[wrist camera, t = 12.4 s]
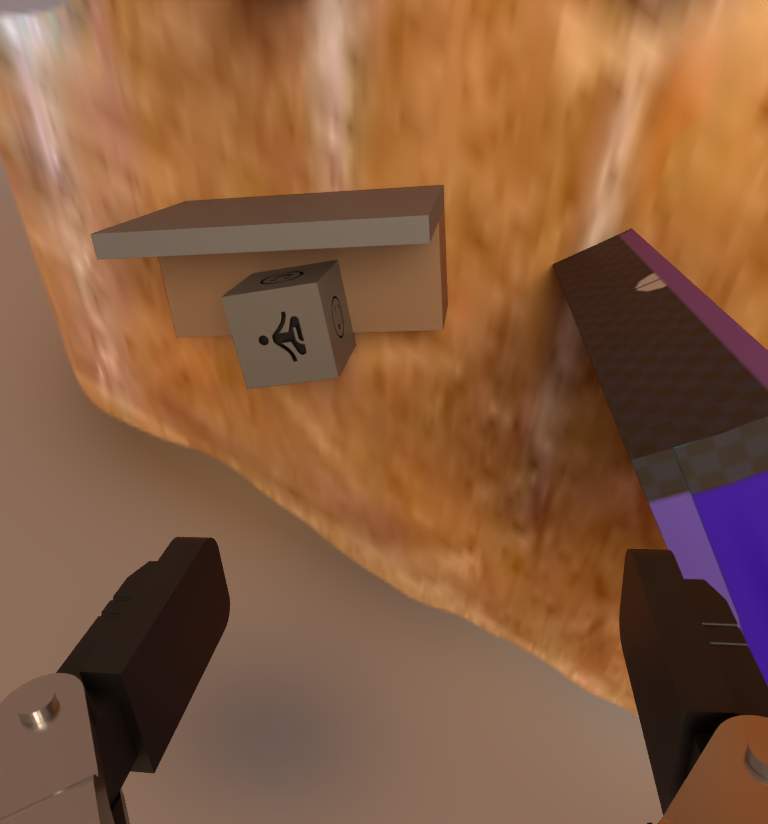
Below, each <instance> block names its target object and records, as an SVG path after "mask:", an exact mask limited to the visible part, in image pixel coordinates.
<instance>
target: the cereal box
mask: <svg viewBox="0 0 768 824" xmlns="http://www.w3.org/2000/svg"><path fill="white" fill-rule="evenodd" d="M553 266H554V269H555V271H556V274H557V276H558V279H559V281H560V284H561V286H562V289H563V291H564V294H565V296H566V299H567V301H568V304H569V306H570V309H571V311H572V314H573V316H574V319H575V321H576V324H577V326H578V329H579V332H580V334H581V337H582V339H583V342H584V344H585V347H586V349H587V352H588V354H589V357H590V359H591V362H592V364H593V367H594V369H595V372H596V374H597V377H598V379H599V382H600V384H601V387H602V389H603V392H604V394H605V397H606V399H607V402H608V404H609V407H610V409H611V412H612V414H613V417H614V419H615V422H616V424H617V427H618V429H619V432H620V434H621V437H622V439H623V442H624V444H625V447H626V449H627V452H628V454H629V457H630V459H631V462H632V464H633V467H634V469H635V471H636V474H637V476H638V479H639V481H640V483H641V486H642V488H643V491H644V493H645V495H646V498H647V500H648V503H649V505H650V507H651V510H652V512H653V515H654V517H655V519H656V522H657V524H658V527H659V529H660V531H661V534H662V536H663V539H664V541H665V543H666V546H667V548H668V550H671V551H672V552H673V554H674V556H675V559H676V561H677V563H678V566H679V568H680V571H681V573H682V576H683V578H684V579H704V580H705V581H707V582H708V583H709V584H710V585H711V586H712V587H713V588H714V589H715V590H716V591H717V592H718V593H719V594H721V595H722V596H723V597H724V598H725V599H726V600H727V602H728V604H729V606H730V608H731V611H732V613H733V615H734V617H735V619H736V621H737V623H738V624H737V625H738V628H740V629H741V631H742V634H743V636H744V638H745V640H746V642H747V648H750V650H751V652H752V654H753V657H754V659H755V661H756V663H757V665H758V667H759V669H760V671H761V673H762V675H763V677H764V680H765V682H766V684H767V686H768V350H767V349H765V348H764V347H763V346H762V345H761V344H760V343H759V342H758V341H756V340H755V339H754V338H753V337H752V336H751V335H750V334H749V333H748V332H746V331H745V330H744V329H743V328H742V327H741V326H740V325H739V324H738V323H736V322H735V321H734V320H733V319H732V318H731V317H730V316H729V315H728V314H726V313H725V312H724V311H723V310H722V309H721V308H720V307H719V306H718V305H716V304H715V303H714V302H713V301H712V300H711V299H710V298H709V297H708V296H706V295H705V294H704V293H703V292H702V291H701V290H700V289H699V288H697V287H696V286H695V285H694V284H693V283H692V282H691V281H690V280H689V279H687V278H686V277H685V276H684V275H683V274H682V273H681V272H680V271H679V270H677V269H676V268H675V267H674V266H673V265H672V264H671V263H670V262H669V261H667V260H666V259H665V258H664V257H663V256H662V255H661V254H660V253H659V252H657V251H656V250H655V249H654V248H653V247H652V246H651V245H650V244H648V243H647V242H646V241H645V240H644V239H643V238H642V237H641V236H640V235H638V234H637V233H636V232H635V231H634V230H633V229H630V230H628V231H625V232H623V233H621V234H619V235H617V236H614V237H612V238H610V239H608V240H606V241H603V242H601V243H599V244H597V245H595V246H592V247H590V248H588V249H586V250H584V251H581V252H579V253H577V254H575V255H572V256H570V257H568V258H566V259H564V260H561V261H559V262H557V263H555V264H553Z"/></svg>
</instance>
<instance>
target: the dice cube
mask: <svg viewBox="0 0 768 824" xmlns="http://www.w3.org/2000/svg"><path fill="white" fill-rule="evenodd" d="M221 300H222V303H223V307H224V310H225V313H226V317H227V320H228V324H229V327H230V331H231V334H232V337H233V341H234V344H235V348H236V351H237V355H238V358H239V361H240V365H241V368H242V372H243V375H244V379H245V382H246V385H247V389H253V388H261V387H269V386H277V385H286V384H294V383H302V382H310V381H319V380H327V379H335V378H339V376H340V375H341V373H342V371H343V369H344V367H345V365H346V363H347V361H348V359H349V358H350V356H351V354H352V352H353V350H354V348H355V346H356V342H355V338H354V333H353V328H352V323H351V319H350V314H349V309H348V305H347V300H346V295H345V290H344V286H343V281H342V276H341V272H340V267H339V262H338V260H332V261H325V262H319V263H313V264H307V265H300V266H294V267H288V268H282V269H275V270H269V271H263V272H257V273H252V274H251V275H250V276H248V277H247V278H246V279H244V280H243V281H242V282H240V283H239V284H238V285H236V286H235V287H234V288H232V289H231V290H230V291H228V292H227V293H226V294H224V295H223V296H222V297H221Z"/></svg>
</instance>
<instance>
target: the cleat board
mask: <svg viewBox="0 0 768 824" xmlns="http://www.w3.org/2000/svg"><path fill="white" fill-rule="evenodd" d="M91 238H92V242H93V245H94V249H95V253H96V257H97V259H118V258H138V257H159V261H160V266H161V270H162V275H163V279H164V284H165V289H166V293H167V298H168V302H169V307H170V311H171V316H172V320H173V325H174V329H175V334H176V337H212V336H232V334H231V331H230V327H229V324H228V320H227V317H226V313H225V310H224V307H223V303H222V300H221V297H222V296H223V295H224V294H226V293H227V292H228V291H230V290H231V289H232V288H234V287H235V286H236V285H238V284H239V283H240V282H242V281H243V280H244V279H246V278H247V277H248V276H250V275H251V274H252V273H257V272H263V271H269V270H275V269H282V268H288V267H294V266H300V265H307V264H313V263H319V262H325V261H332V260H338V262H339V267H340V272H341V276H342V281H343V286H344V290H345V295H346V300H347V305H348V309H349V314H350V319H351V323H352V328H353V333H356V332H392V331H428V330H443V327H444V322H445V316H446V311H447V306H448V300H447V272H446V243H445V214H444V186H443V185H436V186H420V187H404V188H388V189H372V190H356V191H340V192H324V193H308V194H292V195H277V196H261V197H245V198H229V199H213V200H197V201H185V202H182V203H179V204H176V205H174V206H171V207H168V208H165V209H162V210H159V211H156V212H153V213H150V214H147V215H144V216H142V217H139V218H136V219H133V220H130V221H127V222H124V223H121V224H118V225H115V226H113V227H110V228H107V229H104V230H101V231H98V232H95V233H92V234H91Z"/></svg>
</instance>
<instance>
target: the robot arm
mask: <svg viewBox="0 0 768 824" xmlns="http://www.w3.org/2000/svg"><path fill="white" fill-rule="evenodd" d="M229 612H230V598H229V593H228V588H227V584H226V579H225V575H224V571H223V566H222V562H221V557H220V553H219V548H218V545H217V542H216V541H215V540H214V539H213V538H199V537H176V538H175V539H173V540H172V542H171V543H170V544H169V546H168V547H167V548H166V550H165V551H164V553H163V554H162V556H161V557H160V558H159V560H158V561H149V562H148V563H146V564H145V565H144V566H142V567H141V568H140V569H138V570H137V571H136V572H134V573H133V574H132V575H130V576H129V577H128V578H127V579H126V580H125V582H124V583H123V584H122V586H121V587H120V588H119V590H118V591H117V592H116V594H115V595H114V596H113V601H110V602H109V603H108V604H107V606H106V607H105V608H104V610H103V611H102V615H101V616H99V617H98V618H97V619H96V620H95V622H94V623H93V624H92V626H91V627H90V628H89V630H88V631H87V633H86V634H85V635H84V636H83V638H82V639H81V640H80V642H79V643H78V644H77V646H76V647H75V648H74V650H73V651H72V652H71V654H70V655H69V656H68V658H67V659H66V660H65V662H64V663H63V664H62V666H61V667H60V668H59V670H58V671H57V672H56V673H55V674H48V675H44V676H41V677H38V678H35V679H33V680H31V681H29V682H27V683H25V684H23V685H22V686H20V687H18V688H17V689H16V690H14V691H13V692H12V693H10V694H9V695H8V696H7V697H6V698H5V699H4V700H3V701H2V702H1V704H0V824H130V822H129V817H128V812H127V807H126V803H125V798H124V795H123V792H122V789H121V787H122V785H123V783H124V782H125V780H126V777H127V776H128V774H129V772H130V771H134V772H145V773H155V771H156V768H157V767H158V765H159V762H160V761H161V758H162V756H163V754H164V752H165V750H166V748H167V746H168V744H169V742H170V740H171V738H172V736H173V734H174V732H175V730H176V728H177V726H178V724H179V722H180V720H181V718H182V716H183V714H184V712H185V710H186V708H187V706H188V704H189V702H190V700H191V698H192V695H193V693H194V691H195V689H196V687H197V685H198V683H199V681H200V679H201V677H202V675H203V673H204V671H205V669H206V667H207V665H208V663H209V661H210V659H211V657H212V654H213V653H214V651H215V648H216V647H217V645H218V643H219V640H220V638H221V637H222V635H223V632H224V630H225V628H226V625H227V622H228V618H229ZM619 624H620V638H621V645H622V650H623V654H624V658H625V662H626V666H627V670H628V674H629V678H630V682H631V686H632V690H633V694H634V698H635V702H636V707H637V711H638V715H639V719H640V723H641V727H642V731H643V735H644V739H645V743H646V747H647V751H648V755H649V759H650V763H651V767H652V771H653V775H654V780H655V784H656V787H657V792H658V796H659V799H660V804H661V808H662V812H663V817H662V819H661V820H660V821H659V823H658V824H768V686H767V684H766V682H765V680H764V677H763V675H762V673H761V671H760V669H759V667H758V665H757V663H756V661H755V659H754V657H753V654H752V652H751V650H750V648H747V642H746V640H745V638H744V636H743V634H742V631H741V629H740V628H738V625H737V624H738V623H737V621H736V619H735V617H734V615H733V613H732V611H731V608H730V606H729V604H728V602H727V600H726V599H725V598H724V597H723V596H722V595H721V594H719V593H718V592H717V591H716V590H715V589H714V588H713V587H712V586H711V585H710V584H709V583H708V582H707V581H705V580H704V579H684V578H683V576H682V573H681V571H680V568H679V566H678V563H677V561H676V559H675V556H674V554H673V552H672V551H671V550H650V549H628V550H627V552H626V556H625V565H624V575H623V585H622V595H621V605H620V618H619ZM647 824H652V823H647Z"/></svg>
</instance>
